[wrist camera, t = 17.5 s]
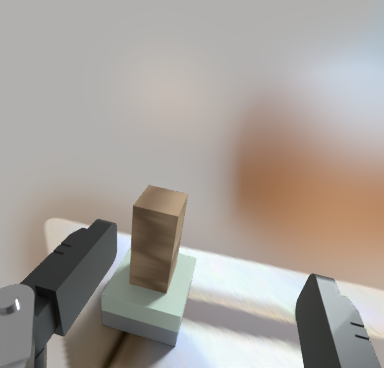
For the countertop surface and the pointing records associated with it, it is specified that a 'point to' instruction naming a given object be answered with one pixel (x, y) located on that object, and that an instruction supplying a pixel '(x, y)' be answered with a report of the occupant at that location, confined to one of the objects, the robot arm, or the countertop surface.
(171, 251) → the walnut block
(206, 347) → the countertop surface
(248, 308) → the countertop surface
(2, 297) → the robot arm
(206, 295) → the countertop surface
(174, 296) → the pale green grey block
